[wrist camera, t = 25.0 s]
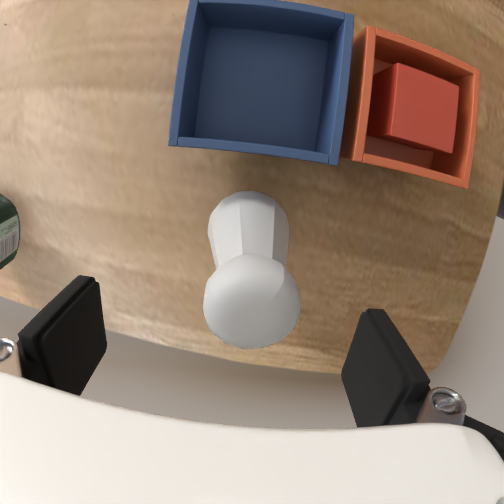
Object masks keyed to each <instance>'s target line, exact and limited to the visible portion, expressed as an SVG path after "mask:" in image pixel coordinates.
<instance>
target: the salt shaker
mask: <svg viewBox="0 0 504 504" xmlns="http://www.w3.org/2000/svg"><path fill="white" fill-rule="evenodd" d="M207 233H208V237H209V241H210V245H211V249H212V254H213V258H214V262H215V266H216V271H215V272H214V273H213V274H212V276H211V277H210V278H209V279H208V281H207V285H206V288H205V295H204V301H203V311H204V316H205V318H206V321H207V324H208V326H209V329H210V331H211V332H213V333H214V334H215V335H216V336H217V337H218V338H220V339H221V340H222V341H223V342H224V343H227V344H230V345H233V346H236V347H239V348H242V349H255V348H264V347H267V346H270V345H272V344H275V343H278V342H280V341H282V340H283V339H284V338H285V337H286V336H287V335H288V334H289V333H290V332H291V331H292V330H293V329H294V328H295V325H296V323H297V320H298V317H299V315H300V312H301V302H300V297H299V292H298V287H297V284H296V282H295V279H294V278H293V276H292V275H291V274H290V273H289V272H288V270H287V269H286V263H287V254H288V245H289V236H290V228H289V224H288V219H287V215H286V213H285V211H284V210H283V209H282V208H281V206H280V205H279V204H278V203H277V201H276V200H275V199H274V198H272V197H269V196H267V195H265V194H263V193H261V192H258V191H238V192H236V193H234V194H232V195H230V196H228V197H226V198H224V199H222V200H221V202H220V203H219V204H218V206H217V207H216V208H215V210H214V211H213V212H212V213H211V215H210V219H209V225H208V231H207Z"/></svg>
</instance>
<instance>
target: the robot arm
mask: <svg viewBox="0 0 504 504" xmlns="http://www.w3.org/2000/svg"><path fill="white" fill-rule="evenodd" d="M18 336H19V340H18V342H17V343H16V342H15V341H14V340H12V339H10V338H6V337H0V504H504V433H503V432H501V431H499V430H496V429H495V428H492V427H490V426H488V425H486V424H484V423H482V422H479V421H477V420H475V419H473V418H471V417H468V416H467V415H465V413H466V404H465V401H464V399H463V398H462V397H461V396H460V395H459V394H458V393H457V392H455V391H454V390H452V389H449V388H445V387H436V388H433V389H432V390H431V389H430V387H429V383H430V379H429V378H428V376H427V375H426V373H425V371H424V370H423V368H422V367H421V365H420V363H419V362H418V360H417V359H416V357H415V356H414V354H413V353H412V351H411V349H410V348H409V346H408V345H407V343H406V342H405V340H404V339H403V337H402V336H401V334H400V333H399V331H398V330H397V328H396V327H395V325H394V324H393V322H392V321H391V319H390V318H389V316H388V315H387V314H386V312H385V311H384V310H383V309H370V308H369V309H367V310H366V312H363V313H362V314H361V316H360V319H359V322H358V325H357V328H356V331H355V334H354V337H353V340H352V343H351V346H350V349H349V352H348V355H347V358H346V361H345V363H344V366H343V369H342V381H343V384H344V387H345V390H346V393H347V396H348V399H349V402H350V406H351V409H352V412H353V415H354V418H355V422H356V425H357V428H336V429H287V428H265V427H264V428H263V427H249V426H236V425H226V424H217V423H209V422H200V421H193V420H187V419H180V418H174V417H168V416H162V415H157V414H152V413H146V412H141V411H137V410H132V409H128V408H123V407H119V406H115V405H111V404H107V403H103V402H99V401H95V400H92V399H88V398H84V397H81V396H80V395H81V393H82V391H83V390H84V388H85V386H86V384H87V383H88V381H89V379H90V377H91V376H92V374H93V372H94V370H95V369H96V367H97V365H98V364H99V362H100V360H101V359H102V357H103V355H104V354H105V352H106V347H107V341H106V334H105V328H104V320H103V312H102V304H101V295H100V286H99V283H98V282H96V281H95V278H94V277H88V276H82V275H79V276H77V277H76V278H75V279H74V280H73V281H72V282H71V283H70V284H69V285H67V286H66V287H65V288H64V289H63V290H62V291H61V292H60V293H59V294H58V295H57V296H56V297H55V298H54V299H53V300H52V301H50V302H49V303H48V304H47V305H46V306H45V307H44V308H43V309H42V310H41V311H40V312H39V313H38V314H37V315H36V316H35V317H34V318H33V319H32V320H31V321H30V322H29V323H28V324H27V325H26V326H25V327H24V329H22V330H21V331H20V332H19V333H18Z"/></svg>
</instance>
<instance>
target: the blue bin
mask: <svg viewBox="0 0 504 504" xmlns="http://www.w3.org/2000/svg"><path fill="white" fill-rule="evenodd" d="M353 28H354V15H352V14H348V13H344V12H340V11H335V10H331V9H326V8H321V7H316V6H311V5H306V4H300V3H294V2H287V1H280V0H189V5H188V9H187V14H186V20H185V25H184V30H183V36H182V42H181V48H180V54H179V60H178V66H177V73H176V80H175V88H174V95H173V103H172V112H171V121H170V130H169V140H168V146H176V147H177V146H178V147H191V148H204V149H216V150H226V151H236V152H245V153H254V154H262V155H270V156H277V157H285V158H292V159H298V160H305V161H311V162H317V163H323V164H329V165H335V166H338V161H339V154H340V147H341V140H342V133H343V126H344V118H345V110H346V102H347V93H348V84H349V74H350V64H351V53H352V41H353Z"/></svg>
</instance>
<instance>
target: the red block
mask: <svg viewBox="0 0 504 504" xmlns="http://www.w3.org/2000/svg"><path fill="white" fill-rule="evenodd" d="M458 95H459V86H457V85H455V84H452V83H450V82H448V81H445V80H443V79H440V78H438V77H436V76H433V75H431V74H428V73H425V72H423V71H420V70H417V69H415V68H412V67H409V66H406V65H403V64H400V63H396V64H394V65H392V66H390V67H388V68H386V69H384V70H382V71H380V72H378V73H376V74H374V75H373V79H372V89H371V99H370V108H369V116H368V124H367V131H366V136H371V137H375V138H379V139H383V140H387V141H391V142H395V143H398V144H402V145H406V146H409V147H413V148H416V149H421V150H429V151H436V152H443V153H450V154H452V152H453V145H454V137H455V129H456V119H457V108H458Z"/></svg>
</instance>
